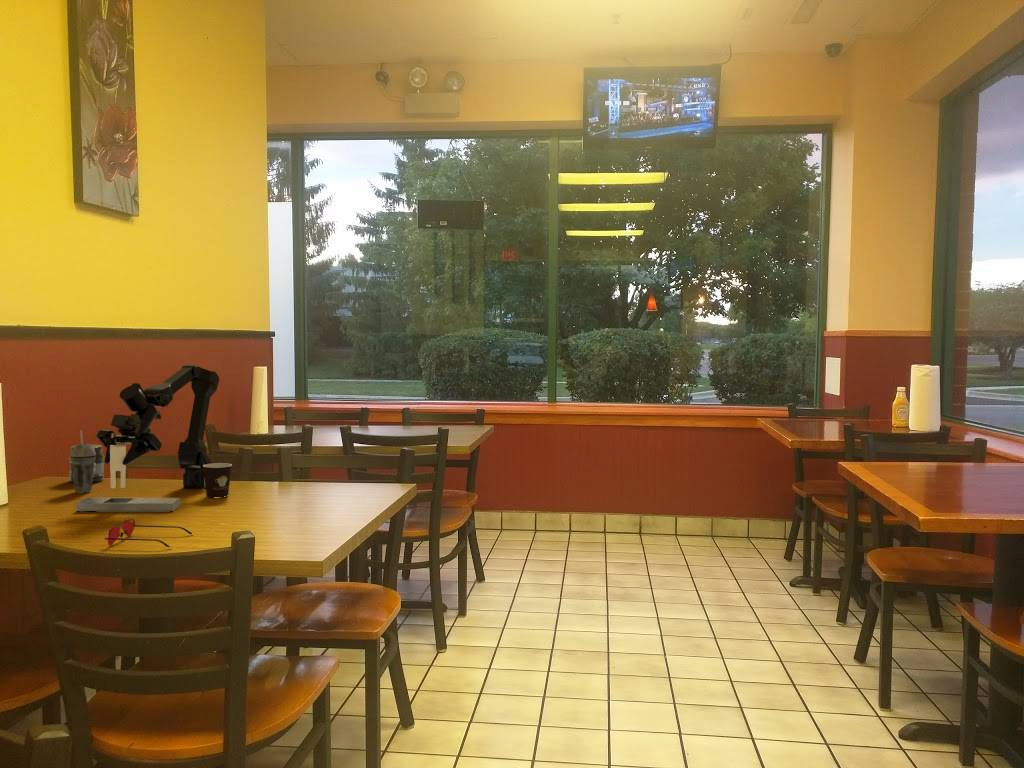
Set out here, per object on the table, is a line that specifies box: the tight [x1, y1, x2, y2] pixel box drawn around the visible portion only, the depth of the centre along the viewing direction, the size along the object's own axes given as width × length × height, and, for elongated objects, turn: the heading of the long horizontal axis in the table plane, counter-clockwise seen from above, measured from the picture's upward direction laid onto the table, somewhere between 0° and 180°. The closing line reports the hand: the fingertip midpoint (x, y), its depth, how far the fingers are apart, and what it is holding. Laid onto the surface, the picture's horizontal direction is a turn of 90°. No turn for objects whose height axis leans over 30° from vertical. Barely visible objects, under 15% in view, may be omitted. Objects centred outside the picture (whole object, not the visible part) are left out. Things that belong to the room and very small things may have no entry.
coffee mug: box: [192, 462, 233, 499], centre depth 252 cm, size 12×9×10 cm
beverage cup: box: [69, 429, 96, 494], centre depth 253 cm, size 7×7×20 cm
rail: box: [75, 497, 181, 513], centre depth 231 cm, size 26×8×2 cm, turn 98°
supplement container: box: [68, 444, 105, 484], centre depth 271 cm, size 10×10×12 cm
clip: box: [109, 444, 127, 489], centre depth 230 cm, size 4×4×12 cm
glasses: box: [103, 518, 193, 548], centre depth 197 cm, size 14×16×5 cm
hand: (114, 463), depth 229 cm, fingers closed on clip, 6 cm apart
